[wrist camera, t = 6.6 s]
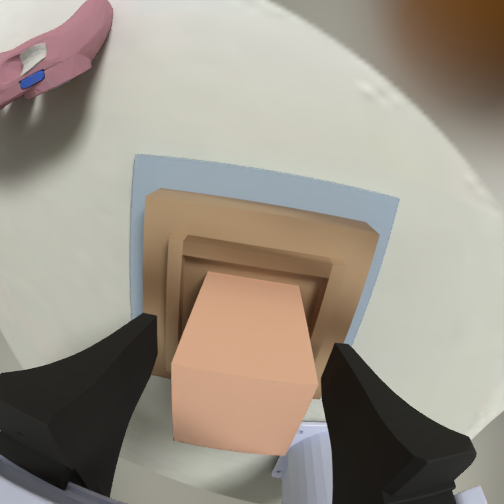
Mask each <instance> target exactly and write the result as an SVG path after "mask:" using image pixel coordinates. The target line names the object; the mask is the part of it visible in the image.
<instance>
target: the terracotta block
mask: <svg viewBox="0 0 504 504" xmlns="http://www.w3.org/2000/svg"><path fill="white" fill-rule="evenodd" d="M171 382H172V421H173V440H174V441H178V442H183V443H188V444H193V445H198V446H203V447H209V448H215V449H222V450H229V451H236V452H244V453H254V454H264V455H278V456H285V455H286V453H287V451H288V449H289V447H290V445H291V443H292V441H293V439H294V437H295V435H296V433H297V431H298V429H299V427H300V425H301V422H302V420H303V418H304V416H305V414H306V412H307V409H308V407H309V405H310V403H311V401H312V398H313V396H314V394H315V391H316V389H317V387H318V379H317V374H316V368H315V363H314V358H313V353H312V347H311V342H310V337H309V332H308V327H307V322H306V317H305V312H304V307H303V303H302V298H301V293H300V288H299V286H297V285H290V284H283V283H277V282H271V281H264V280H258V279H252V278H245V277H239V276H233V275H227V274H221V273H215V272H209V271H208V272H207V275H206V277H205V279H204V282H203V284H202V287H201V289H200V292H199V294H198V297H197V299H196V302H195V304H194V307H193V309H192V312H191V314H190V317H189V319H188V322H187V324H186V327H185V329H184V332H183V335H182V337H181V340H180V342H179V345H178V348H177V350H176V353H175V355H174V358H173V361H172V363H171Z"/></svg>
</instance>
